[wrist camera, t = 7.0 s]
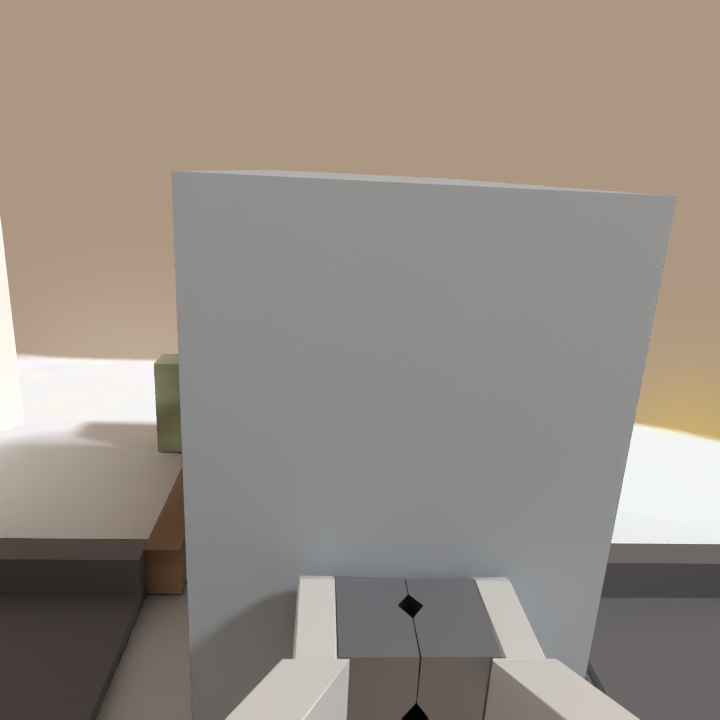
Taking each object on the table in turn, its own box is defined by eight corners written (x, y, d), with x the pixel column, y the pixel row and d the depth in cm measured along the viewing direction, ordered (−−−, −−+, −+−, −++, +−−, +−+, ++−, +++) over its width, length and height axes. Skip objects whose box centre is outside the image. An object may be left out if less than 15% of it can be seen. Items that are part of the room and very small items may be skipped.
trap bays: (-540, 956, 9) (-579, 886, 9) (-131, 582, 18) (-140, 537, 18) (1130, 897, 11) (1166, 839, 11) (784, 585, 20) (795, 545, 20)
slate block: (199, 906, 11) (171, 171, 7) (268, 494, 24) (271, 169, 20) (543, 896, 11) (677, 196, 8) (422, 497, 24) (450, 178, 21)
